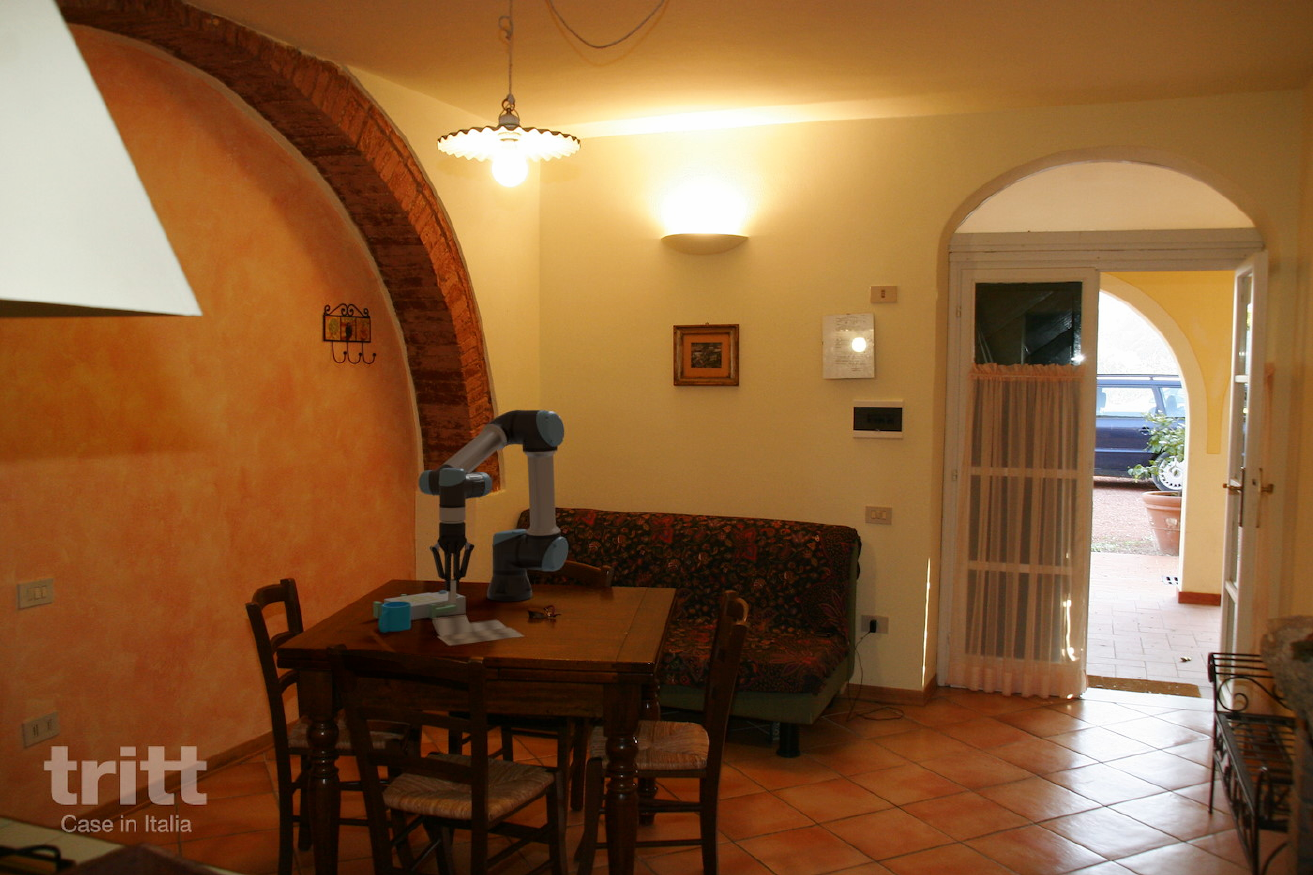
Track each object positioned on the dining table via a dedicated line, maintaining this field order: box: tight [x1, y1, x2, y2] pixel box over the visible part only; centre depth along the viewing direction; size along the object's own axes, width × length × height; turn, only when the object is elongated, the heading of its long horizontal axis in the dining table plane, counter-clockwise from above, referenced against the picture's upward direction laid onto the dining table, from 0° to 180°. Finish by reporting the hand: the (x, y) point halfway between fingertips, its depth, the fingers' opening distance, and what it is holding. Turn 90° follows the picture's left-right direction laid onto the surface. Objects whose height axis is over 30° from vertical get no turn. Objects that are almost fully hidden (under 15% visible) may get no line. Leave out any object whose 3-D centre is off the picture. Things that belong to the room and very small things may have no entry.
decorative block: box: [372, 589, 467, 621], centre depth 295 cm, size 26×6×20 cm
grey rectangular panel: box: [469, 619, 508, 632], centre depth 278 cm, size 10×8×1 cm
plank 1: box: [432, 614, 475, 636], centre depth 272 cm, size 10×8×1 cm
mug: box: [377, 601, 412, 634], centre depth 273 cm, size 12×8×8 cm
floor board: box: [437, 627, 525, 646], centre depth 267 cm, size 22×11×1 cm, turn 120°
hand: (452, 602), depth 273 cm, fingers closed
